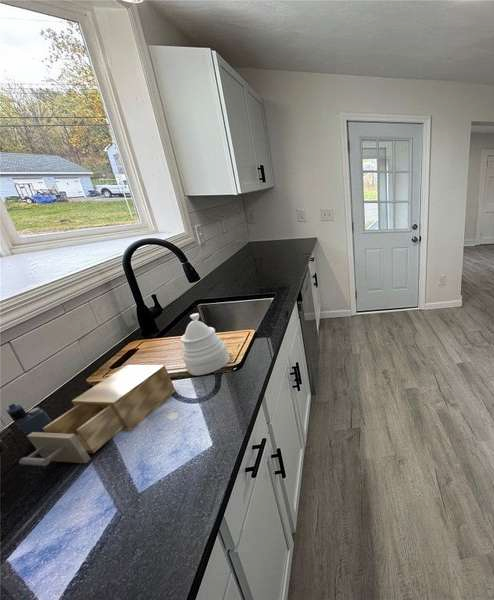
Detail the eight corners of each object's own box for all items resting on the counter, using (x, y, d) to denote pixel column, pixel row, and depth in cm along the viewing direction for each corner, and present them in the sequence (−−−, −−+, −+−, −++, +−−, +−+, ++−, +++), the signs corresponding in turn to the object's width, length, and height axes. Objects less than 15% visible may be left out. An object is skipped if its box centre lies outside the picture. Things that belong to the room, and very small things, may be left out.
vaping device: (28, 445, 79) (1, 408, 75) (53, 429, 84) (29, 393, 79) (35, 446, 79) (8, 409, 74) (60, 430, 83) (36, 394, 79)
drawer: (64, 481, 68) (45, 455, 65) (21, 478, 69) (0, 453, 66) (140, 416, 85) (128, 393, 82) (104, 415, 86) (91, 392, 83)
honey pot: (197, 356, 113) (179, 312, 106) (234, 350, 115) (219, 306, 108) (181, 378, 101) (160, 329, 94) (222, 371, 103) (205, 323, 96)
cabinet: (130, 431, 81) (113, 402, 77) (88, 429, 83) (71, 401, 79) (176, 391, 95) (164, 365, 92) (140, 390, 97) (127, 364, 93)
